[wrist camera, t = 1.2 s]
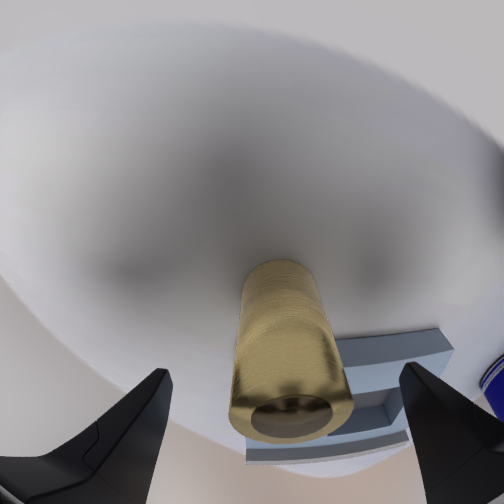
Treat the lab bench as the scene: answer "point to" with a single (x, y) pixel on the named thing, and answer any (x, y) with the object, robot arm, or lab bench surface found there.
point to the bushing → (286, 360)
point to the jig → (365, 399)
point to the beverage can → (495, 388)
